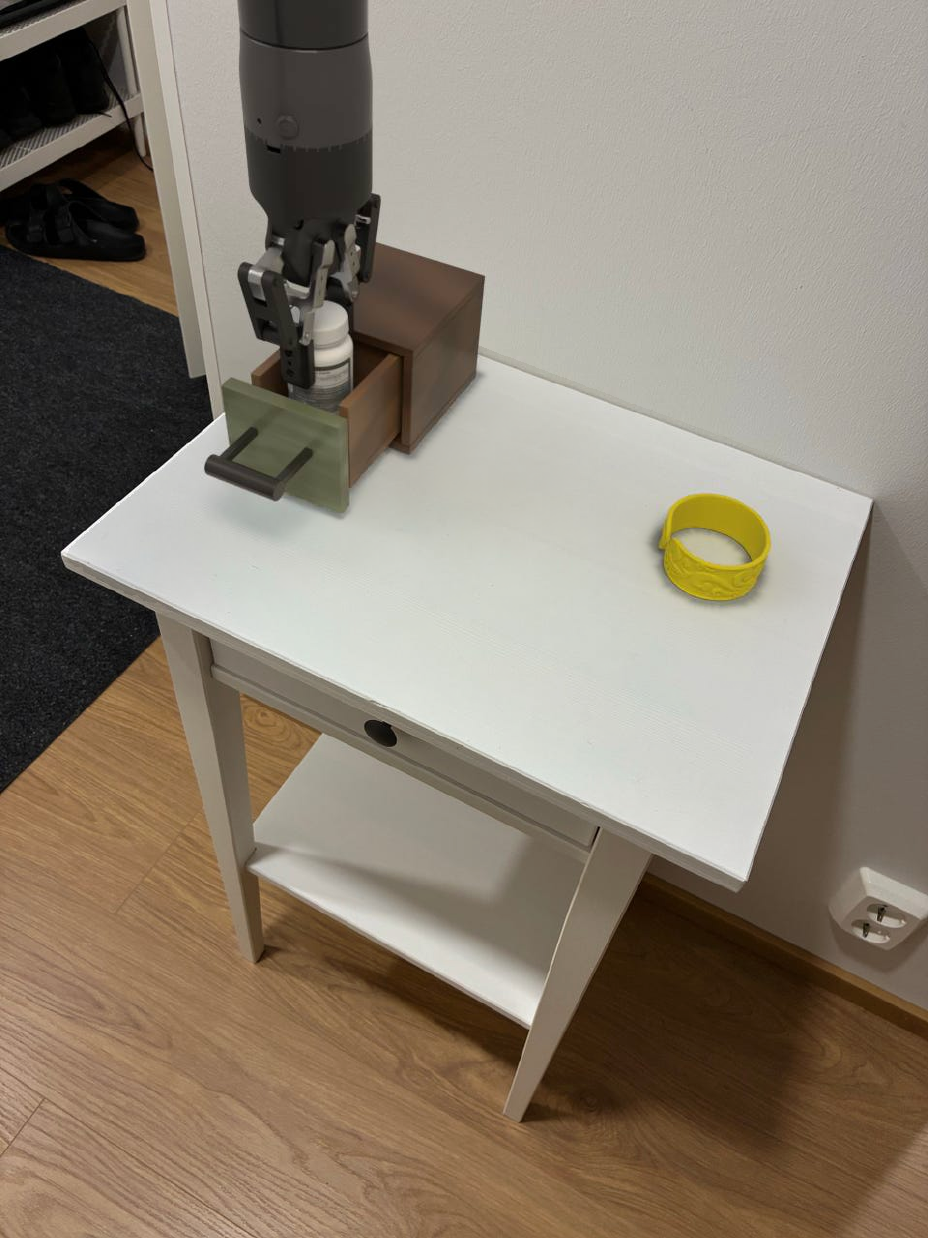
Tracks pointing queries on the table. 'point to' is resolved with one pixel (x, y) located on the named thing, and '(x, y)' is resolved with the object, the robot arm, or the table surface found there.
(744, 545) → the bracelet
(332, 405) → the pill bottle
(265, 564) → the table surface
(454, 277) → the cabinet
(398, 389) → the drawer
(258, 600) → the table surface
